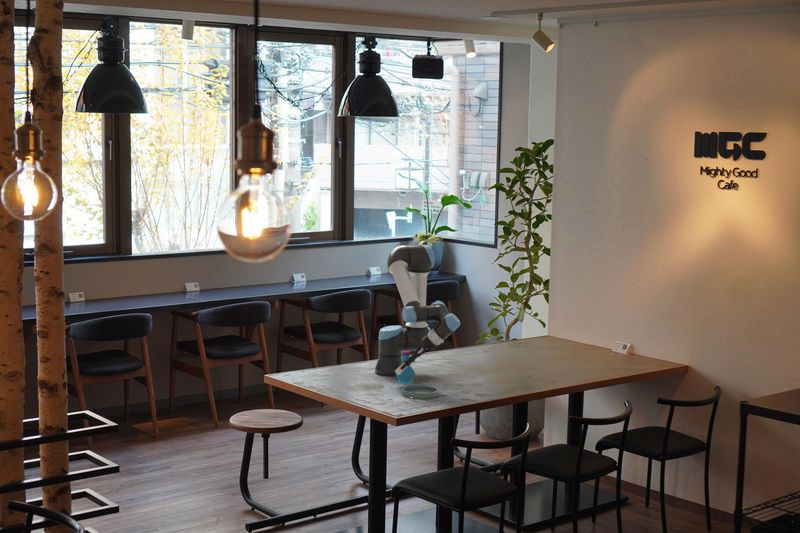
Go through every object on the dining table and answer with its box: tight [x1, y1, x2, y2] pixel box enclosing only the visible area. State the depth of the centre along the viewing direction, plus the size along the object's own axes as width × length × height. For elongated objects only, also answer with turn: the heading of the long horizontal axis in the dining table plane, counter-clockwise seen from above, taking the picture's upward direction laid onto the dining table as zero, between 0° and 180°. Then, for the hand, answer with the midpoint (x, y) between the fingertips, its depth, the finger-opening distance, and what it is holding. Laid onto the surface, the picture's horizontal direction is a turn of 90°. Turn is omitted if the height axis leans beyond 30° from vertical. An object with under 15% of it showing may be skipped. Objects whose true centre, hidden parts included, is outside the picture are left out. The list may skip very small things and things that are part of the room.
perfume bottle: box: [395, 351, 416, 385], centre depth 488 cm, size 9×9×15 cm
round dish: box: [400, 384, 441, 399], centre depth 475 cm, size 17×17×2 cm
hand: (398, 370), depth 489 cm, fingers closed on perfume bottle, 9 cm apart
